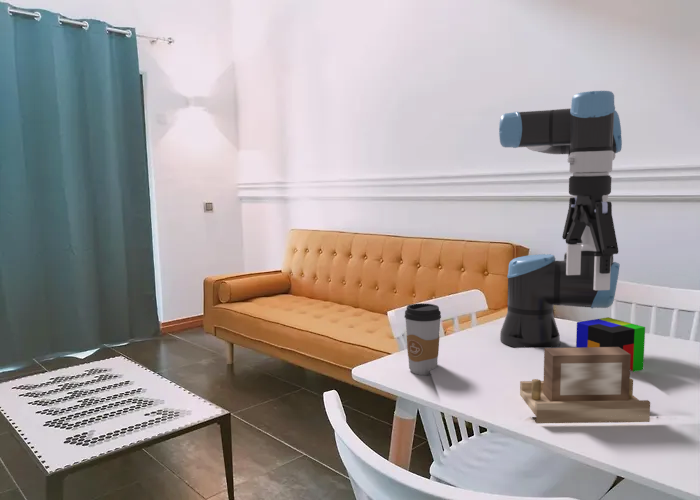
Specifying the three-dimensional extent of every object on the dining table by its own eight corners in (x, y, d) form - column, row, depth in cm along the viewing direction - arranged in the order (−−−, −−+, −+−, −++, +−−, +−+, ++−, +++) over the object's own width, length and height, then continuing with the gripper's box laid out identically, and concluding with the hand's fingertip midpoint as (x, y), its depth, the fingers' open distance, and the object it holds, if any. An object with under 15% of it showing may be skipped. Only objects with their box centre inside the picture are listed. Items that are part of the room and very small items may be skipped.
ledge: (519, 400, 106) (520, 371, 105) (622, 399, 106) (623, 370, 105) (536, 423, 96) (537, 391, 96) (649, 421, 96) (651, 389, 95)
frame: (551, 403, 99) (553, 355, 98) (543, 393, 103) (544, 348, 102) (628, 402, 98) (630, 354, 97) (616, 392, 103) (618, 346, 102)
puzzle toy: (575, 363, 127) (576, 322, 126) (606, 357, 131) (608, 317, 130) (611, 377, 118) (612, 332, 117) (643, 370, 122) (645, 327, 121)
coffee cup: (397, 371, 124) (396, 307, 122) (418, 362, 130) (418, 301, 128) (427, 379, 119) (427, 313, 117) (448, 369, 125) (448, 306, 123)
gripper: (548, 173, 116) (546, 270, 120) (598, 177, 92) (594, 298, 95) (583, 172, 116) (580, 268, 120) (643, 175, 92) (637, 296, 95)
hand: (586, 282), depth 107 cm, fingers open, 13 cm apart
